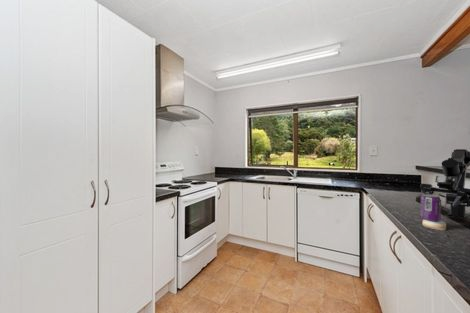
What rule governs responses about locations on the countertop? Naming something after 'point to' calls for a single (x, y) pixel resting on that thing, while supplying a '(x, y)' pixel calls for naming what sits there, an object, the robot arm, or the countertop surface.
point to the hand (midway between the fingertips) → (439, 204)
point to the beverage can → (430, 207)
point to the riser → (434, 224)
